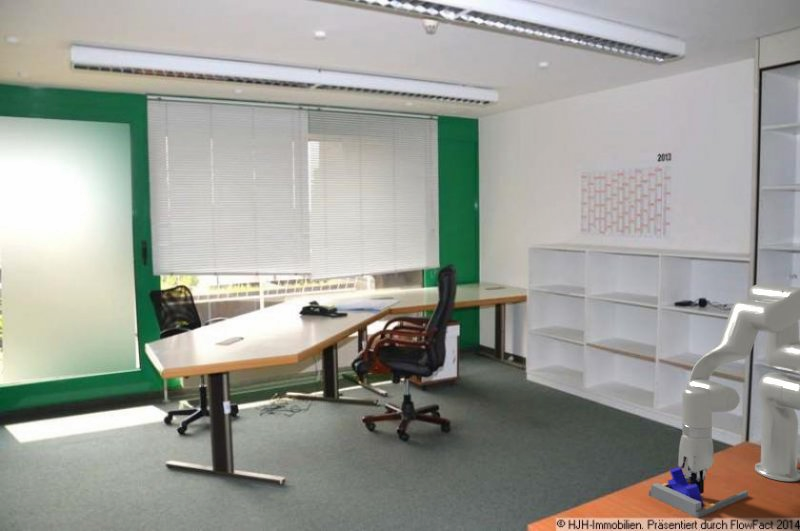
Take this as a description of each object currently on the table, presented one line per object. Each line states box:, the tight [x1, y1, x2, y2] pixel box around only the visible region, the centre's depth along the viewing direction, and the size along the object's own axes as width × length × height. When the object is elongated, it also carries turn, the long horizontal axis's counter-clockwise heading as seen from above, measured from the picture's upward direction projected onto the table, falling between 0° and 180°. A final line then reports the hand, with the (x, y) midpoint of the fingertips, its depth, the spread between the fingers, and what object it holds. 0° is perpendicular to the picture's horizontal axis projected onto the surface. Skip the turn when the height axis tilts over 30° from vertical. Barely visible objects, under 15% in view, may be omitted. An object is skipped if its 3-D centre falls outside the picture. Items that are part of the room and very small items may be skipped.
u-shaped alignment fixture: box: [648, 476, 749, 519], centre depth 174 cm, size 23×16×4 cm
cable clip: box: [667, 466, 705, 508], centre depth 172 cm, size 12×4×6 cm, turn 178°
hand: (696, 491), depth 173 cm, fingers closed
